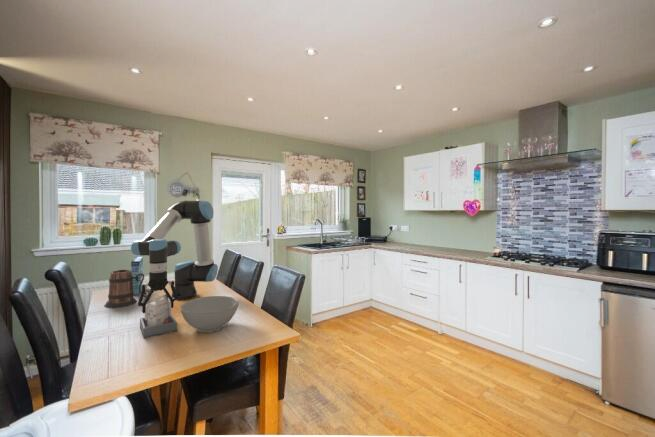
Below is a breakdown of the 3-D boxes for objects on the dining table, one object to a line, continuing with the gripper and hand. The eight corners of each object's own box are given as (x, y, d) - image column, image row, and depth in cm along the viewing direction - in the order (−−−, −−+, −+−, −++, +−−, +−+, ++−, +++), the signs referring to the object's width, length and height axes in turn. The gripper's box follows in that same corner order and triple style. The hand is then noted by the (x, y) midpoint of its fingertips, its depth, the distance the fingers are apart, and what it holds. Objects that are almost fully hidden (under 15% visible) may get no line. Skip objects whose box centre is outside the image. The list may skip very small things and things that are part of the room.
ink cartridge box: (160, 321, 148) (160, 292, 147) (169, 322, 147) (169, 293, 146) (146, 328, 139) (146, 297, 139) (155, 329, 138) (155, 298, 138)
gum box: (135, 288, 214) (134, 257, 213) (143, 287, 216) (143, 256, 216) (130, 295, 197) (130, 261, 196) (139, 294, 199) (139, 261, 198)
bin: (170, 321, 153) (170, 312, 153) (176, 331, 141) (176, 322, 141) (140, 327, 145) (140, 318, 145) (143, 338, 133) (143, 328, 133)
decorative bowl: (181, 321, 153) (182, 298, 153) (235, 315, 164) (235, 293, 163) (178, 343, 128) (178, 316, 128) (241, 334, 139) (241, 309, 139)
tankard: (101, 309, 168) (101, 275, 168) (106, 301, 183) (106, 269, 182) (149, 304, 180) (149, 271, 179) (150, 296, 195) (150, 266, 194)
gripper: (131, 275, 133) (131, 324, 133) (184, 270, 146) (184, 314, 147) (130, 272, 138) (130, 319, 139) (181, 267, 152) (181, 310, 153)
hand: (158, 316), depth 143 cm, fingers closed on ink cartridge box, 9 cm apart
